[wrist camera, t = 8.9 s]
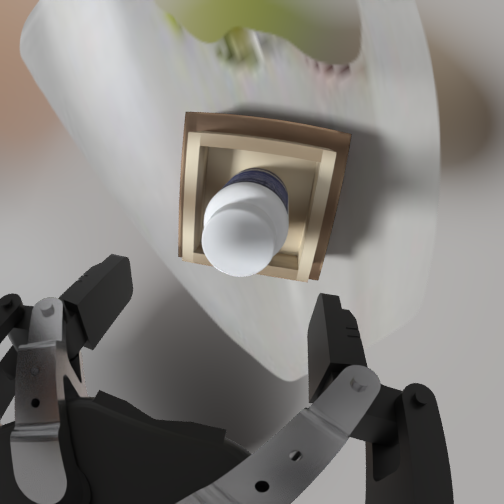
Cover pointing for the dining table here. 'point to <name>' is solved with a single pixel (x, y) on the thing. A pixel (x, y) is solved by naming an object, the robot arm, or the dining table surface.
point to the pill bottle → (246, 222)
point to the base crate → (282, 132)
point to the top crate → (276, 160)
